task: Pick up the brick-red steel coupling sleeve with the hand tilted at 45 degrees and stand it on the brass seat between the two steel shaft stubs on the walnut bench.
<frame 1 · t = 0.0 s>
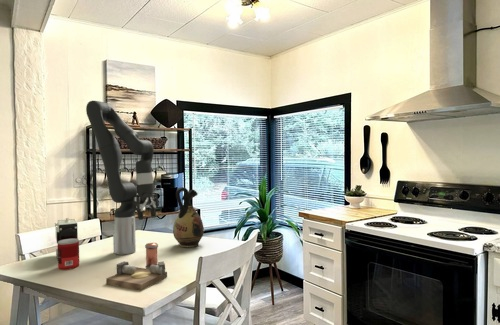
hand: (147, 217, 160), 17 cm above the table, tool pointing down, fingers open, 8 cm apart
canned food: (68, 267, 144), on the table
coupling sleeve: (152, 268, 141), on the table
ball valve: (66, 257, 159), on the table
shaft bench: (137, 280, 127), on the table
ceramic jug: (187, 246, 177), on the table
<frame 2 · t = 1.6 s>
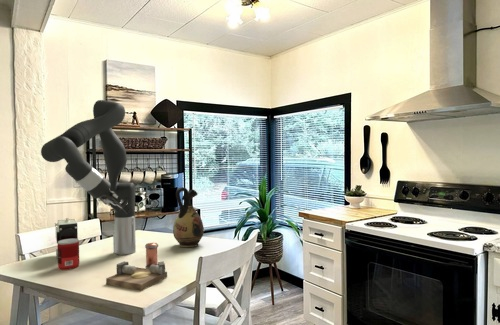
hand: (124, 210, 132), 25 cm above the table, tool tilted 45°, fingers open, 8 cm apart
nothing on the table moved.
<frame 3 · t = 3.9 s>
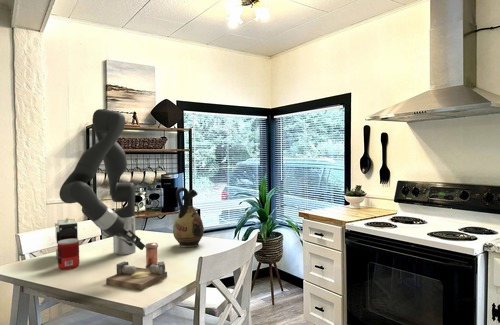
hand: (137, 246, 136), 10 cm above the table, tool tilted 45°, fingers open, 8 cm apart
nothing on the table moved.
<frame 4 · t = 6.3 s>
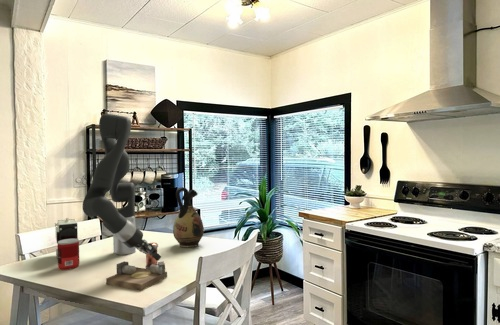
hand: (155, 257, 142), 4 cm above the table, tool tilted 45°, fingers closed on coupling sleeve, 4 cm apart
coupling sleeve: (151, 268, 141), on the table, touching gripper
everything else where it was.
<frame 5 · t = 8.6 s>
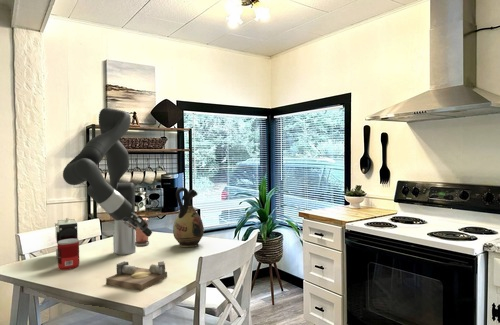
hand: (146, 233, 129), 17 cm above the table, tool tilted 45°, fingers closed on coupling sleeve, 4 cm apart
coupling sleeve: (142, 245, 128), point 13 cm above the table, touching gripper
everything else where it was.
when the fingers open (7 cm above the table, at t = 10.8 s): coupling sleeve drops 1 cm, resting on shaft bench.
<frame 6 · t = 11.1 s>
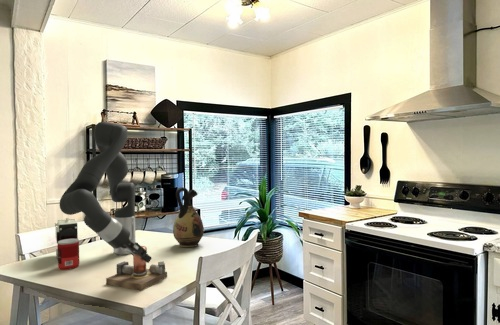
hand: (144, 258, 128), 8 cm above the table, tool tilted 45°, fingers open, 7 cm apart
coupling sleeve: (140, 274, 127), point 2 cm above the table, touching shaft bench
everything else where it was.
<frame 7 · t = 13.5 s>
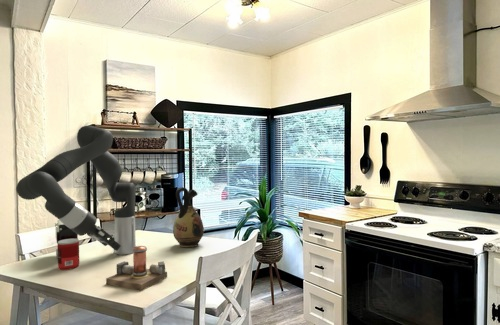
hand: (112, 245, 121), 14 cm above the table, tool tilted 45°, fingers open, 8 cm apart
nothing on the table moved.
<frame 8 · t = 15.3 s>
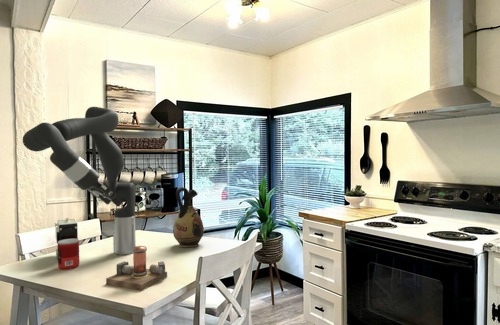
hand: (114, 203, 125), 29 cm above the table, tool tilted 45°, fingers open, 8 cm apart
nothing on the table moved.
at the end: coupling sleeve 0.2 cm from the target spot on the shaft bench, point 2.3 cm above the shaft bench's base; coupling sleeve tilted 0°; the gripper is holding nothing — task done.
